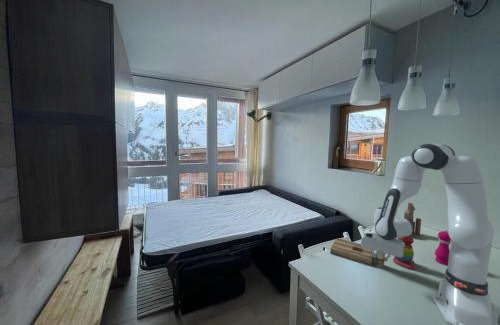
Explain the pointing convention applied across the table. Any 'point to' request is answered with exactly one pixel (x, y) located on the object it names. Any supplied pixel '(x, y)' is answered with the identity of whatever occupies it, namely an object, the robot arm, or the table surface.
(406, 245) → the stacking bear
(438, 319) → the table surface
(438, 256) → the pepper mill
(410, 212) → the wooden toy
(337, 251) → the board
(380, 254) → the peg
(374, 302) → the table surface
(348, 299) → the table surface
